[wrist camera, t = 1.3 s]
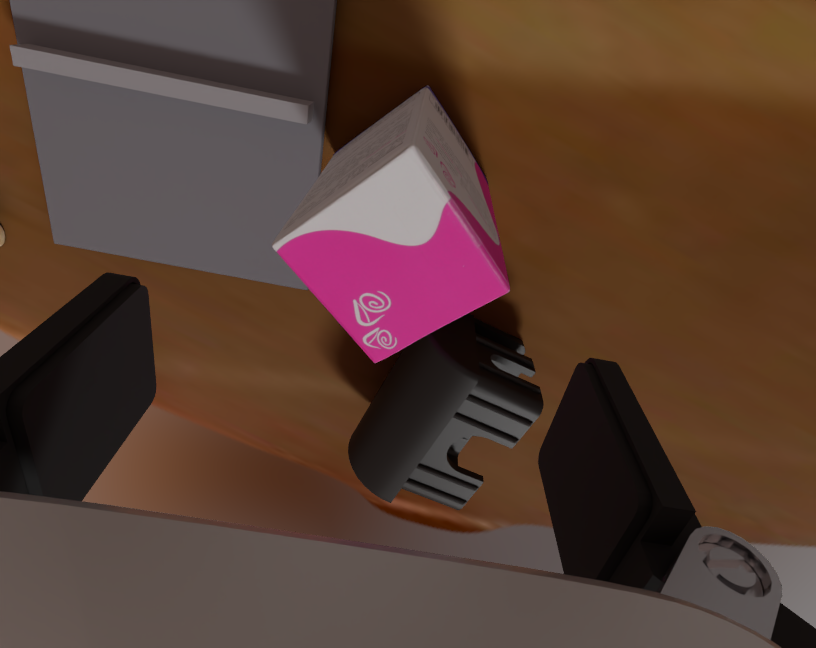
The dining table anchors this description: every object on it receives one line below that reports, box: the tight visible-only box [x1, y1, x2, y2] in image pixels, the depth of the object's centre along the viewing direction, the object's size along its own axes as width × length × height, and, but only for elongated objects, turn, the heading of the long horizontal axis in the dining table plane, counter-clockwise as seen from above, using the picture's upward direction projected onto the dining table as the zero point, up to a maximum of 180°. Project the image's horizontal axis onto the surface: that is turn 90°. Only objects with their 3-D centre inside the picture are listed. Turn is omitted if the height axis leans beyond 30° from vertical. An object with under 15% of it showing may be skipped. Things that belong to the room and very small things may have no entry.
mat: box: [10, 0, 337, 290], centre depth 24 cm, size 14×19×2 cm
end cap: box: [348, 314, 543, 510], centre depth 30 cm, size 10×7×7 cm
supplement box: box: [272, 85, 510, 363], centre depth 21 cm, size 6×6×12 cm
